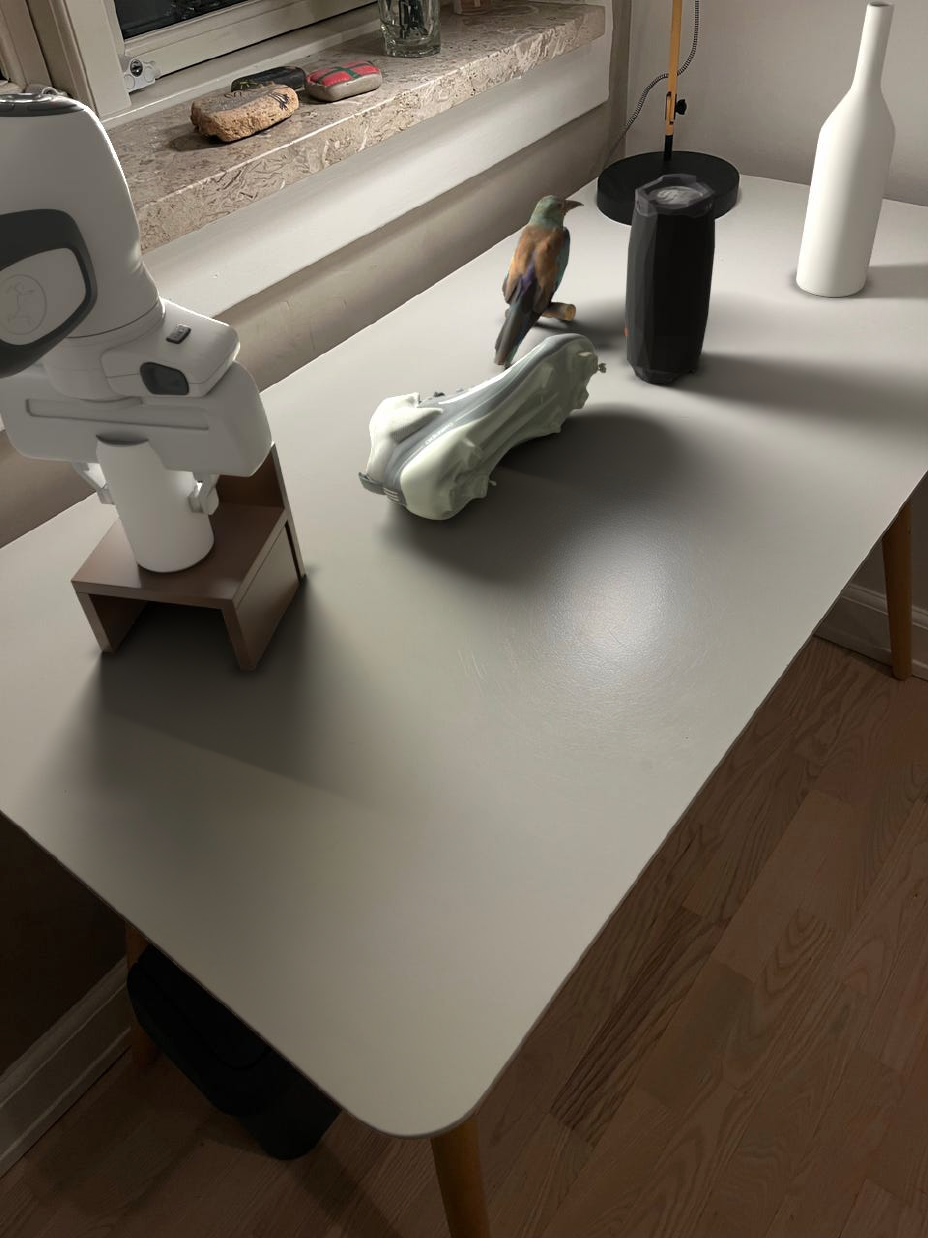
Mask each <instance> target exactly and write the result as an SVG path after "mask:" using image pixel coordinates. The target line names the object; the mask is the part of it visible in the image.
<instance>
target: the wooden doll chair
mask: <svg viewBox="0 0 928 1238" xmlns="http://www.w3.org/2000/svg"><path fill="white" fill-rule="evenodd" d="M197 482H198V483H199V484H202V481H197ZM215 489H216V492H217V496H218V499H219V503H218V507H217V508H216V510H215V511H214V513H213V514H211V515H209V514H207V515H208V518H209V522H210V525H211V529H212V532H213V537H214V542H213V545H212V548H211V549H210V551H209V553H208V554H207V555H206V557H205V558H204V559H203V560H201V561H200V562H199V563H197V564H196V565H194V566H192V567H190V568H188V569H185V570H182V571H178V572H172V573H159V572H154V571H151V570H149V569H146V568H144V567H142V566H141V565H140V564H139V563H138V562H137V561H136V559H135V557H134V554H133V552H132V549H131V547H130V544H129V541H128V539H127V536H126V534H125V531H124V528H123V526H122V523H121V520H120V518H119V516H118V517H117V518H116V520H115V521H114V522H113V524H112V525H111V527H110V528H109V529H108V530H107V532H106V533H105V534H104V535H103V537H102V538H101V539H100V541H99V542H98V543H97V545H96V546H95V548H94V549H93V550H92V551H91V553H90V554H89V555H88V557H87V558H86V559H85V560H84V562H83V563H82V565H81V566H80V568H79V569H78V570H77V571H76V573H75V574H74V575H73V577H71V579H70V584H71V586H72V588H73V591H74V592H75V596H76V597H77V600H78V601H79V604H80V606H81V608H82V610H83V613H84V615H85V617H86V619H87V621H88V624H89V626H90V629H91V630H92V633H93V635H94V638H95V640H96V643H97V644H98V646H99V649H100V651H101V652H107V653H115V652H116V650H117V648H118V647H119V646H120V644H121V642H122V641H123V640H124V638H125V637H126V635H127V633H128V632H129V630H130V629H131V628H132V626H133V625H134V623H135V622H136V621H137V618H138V617H139V615H140V614H141V612H142V611H143V610H144V608H145V606H146V605H147V603H148V602H149V601H152V602H160V603H166V604H175V605H185V606H192V607H201V608H209V609H217V610H221V613H222V616H223V619H224V622H225V625H226V628H227V632H228V634H229V638H230V641H231V644H232V646H233V647H232V648H233V650H234V653H235V656H236V659H237V663H238V666H239V669H240V670H243V671H249V672H254V671H255V670H256V668H257V666H258V664H259V663H260V660H261V659H262V656H263V654H264V653H265V650H266V649H267V647H268V645H269V643H270V641H271V639H272V637H273V635H274V633H275V632H276V629H278V626H279V624H280V622H281V620H282V619H283V617H284V614H285V612H286V611H287V609H288V606H289V605H290V603H291V601H292V599H293V597H294V595H295V593H296V591H297V590H298V588H299V586H300V583H299V580H302V579H303V578H304V576H305V574H306V568H305V565H304V560H303V557H302V556H303V555H302V551H301V547H300V543H299V538H298V533H297V530H296V526H295V521H294V516H293V513H292V509H291V505H290V504H291V503H290V500H289V495H288V492H287V487H286V484H285V479H284V474H283V470H282V465H281V462H280V457H279V454H278V449H277V444H276V442H275V441H272V446H271V449H270V451H269V453H268V455H267V457H266V459H265V460H264V462H263V463H262V464H261V466H260V467H259V468H258V469H257V471H256V472H255V473H254V474H253V475H251V476H249V477H242V476H232V475H221V474H220V476H219V478H218V481H217V483H216V485H215Z"/></svg>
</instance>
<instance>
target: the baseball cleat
mask: <svg viewBox="0 0 928 1238" xmlns="http://www.w3.org/2000/svg"><path fill="white" fill-rule="evenodd" d="M595 351H596V350H595V346H594V344H593V343H592V342H591V340H590V339H589V338H587V336H585V335H582V334H579V333H561V334H556V335H551V336H549V337H546V338H545V339H544V340H543V341H541V342H540V343H539V344H538V345H537V346H536V347H534V348H533V349H532V350H531V351H529V352H528V353H527V354H525V356H523V357H522V358H520V359H519V360H518V361H516V362H515V363H514V364H512V366H510V367H509V368H507V369H506V370H505V371H503V372H501V373H500V374H498V375H497V376H495V377H492V378H487V379H485V380H484V382H482V383H480V384H474V385H471V386H470V388H467V389H463V388H462V387H461V388H456V390H455V391H456V392H453V393H452V394H449V395H446V394H445V393H444V392H443V391H437V390H435V391H434V392H433V393H434V394H431V395H429V396H428V397H426V398H425V399H423V400H421V396H420V393H419V392H412V393H409V394H404V395H398V396H395V397H388V398H386V399H384V400H383V401H382V402H381V403H380V404H379V406H378V407H377V409H376V411H375V412H374V414H373V415H372V418H371V419H370V422H369V436H370V441H371V442H370V443H371V449H370V455H369V458H368V462H367V466H366V471H365V474H363V473H362V472H361V471H359V472H358V474H357V476H358V478H359V481H360V483H361V486H362V488H364V489H365V490H367V491H369V492H371V493H373V494H376V495H381V496H385V497H387V499H389V500H390V501H391V502H394V503H396V504H398V505H400V506H404V507H405V508H406V509H407V510H408V512H410V513H412V514H414V515H417V516H419V517H421V518H424V519H429V520H436V521H444V520H448V519H451V518H452V517H455V515H458V513H460V512H461V510H462V509H463V508H464V507H466V505H467V504H468V503H469V502H470V501H471V500H473V499H481V498H483V499H484V498H485V497H486V496H487V492H488V486H489V483H490V485H492V486H497V482H496V481H494V480H491V479H490V477H489V476H490V475H491V474H492V472H493V470H494V469H495V468H496V466H497V465H498V463H499V462H500V461H501V459H502V458H503V457H504V456H505V455H506V453H508V452H509V450H510V449H512V448H514V447H517V446H518V445H521V444H524V443H525V442H528V441H531V440H533V439H535V438H540V437H544V436H548V435H551V434H554V433H555V434H558V433H560V432H561V430H562V428H561V426H562V425H563V424H564V422H565V421H566V420H567V419H568V417H569V415H570V414H571V413H572V411H574V410H581V409H583V408H584V406H585V403H586V402H587V400H588V399H589V397H590V393H589V392H588V390H587V387H588V385H589V382H590V380H591V378H592V377H593V376H594V375H596V374H598V372H600V373H602V374H606V372H607V367H606V366H607V363H606V362H600V363H599V355H598V354H596V352H595Z"/></svg>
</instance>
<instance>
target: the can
mask: <svg viewBox="0 0 928 1238" xmlns="http://www.w3.org/2000/svg"><path fill="white" fill-rule="evenodd" d="M95 436H96V438H97V439H98V445H97V448H96V455H97V458H98V461H99V464H100V467H101V470H102V472H103V475H104V478H105V480H106V483H107V486H108V488H109V491H110V494H111V496H112V499H113V502H114V504H115V505H114V507H115V510H116V513H117V515H118V517H119V518H120V520H121V523H122V526H123V528H124V531H125V534H126V536H127V539H128V541H129V544H130V547H131V549H132V552H133V554H134V557H135V559H136V561H137V562H138V563H139V564H140V565H141V566H142V567H144V568H146V569H149V570H151V571H154V572H159V573H172V572H178V571H182V570H185V569H188V568H190V567H192V566H194V565H196V564H197V563H199V562H200V561H201V560H203V559H204V558H205V557H206V555H207V554H208V553H209V551H210V549H211V548H212V545H213V542H214V537H213V532H212V529H211V525H210V522H209V518H208V515H207V514H200V513H193V511H192V509H191V508H192V507H193V506H192V505H191V504H190V502H189V499H188V496H189V495H190V493H191V492H192V491H194V487H195V486H196V485H197V483H198V482H197V481H196V480H195V479H194V476H193V472H187V471H176V470H167V469H166V468H165V467H164V465H163V464H162V461H161V459H160V457H159V456H158V455H157V453H156V452H155V451H154V450H153V449H152V448H151V447H150V445H149V443H148V441H149V440H148V439H147V440H144V441H141V442H127V441H121V440H118V439H116V440H117V441H115V440H101V439H100V438H99V437H98V436H97V435H95Z"/></svg>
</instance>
